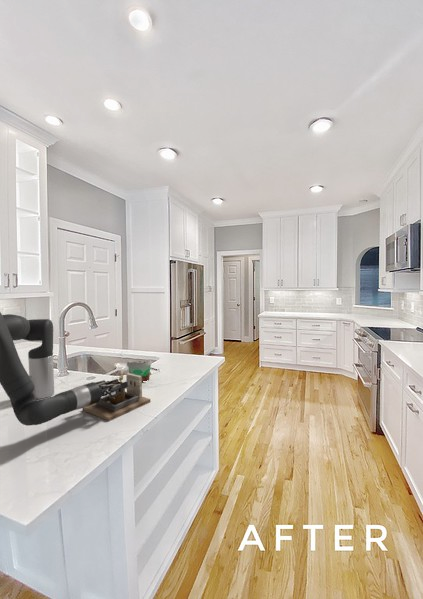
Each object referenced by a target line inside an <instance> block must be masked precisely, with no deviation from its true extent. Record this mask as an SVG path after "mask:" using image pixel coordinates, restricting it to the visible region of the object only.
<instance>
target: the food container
mask: <svg viewBox="0 0 423 599" xmlns="http://www.w3.org/2000/svg"><path fill="white" fill-rule="evenodd" d="M151 365H153V362H152V360H151V359H149V360H145V361H144V360H139V361H134V362H132V361H131V362H129V361H127V362H126V366H127V367H128V373H130V374H134V375H139V376H142V382H143V381H147V380H148V381H150V375H151V374H150V372H151V369H150V367H152V366H151ZM148 381H147V382H148ZM143 383H144V382H143Z"/></svg>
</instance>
